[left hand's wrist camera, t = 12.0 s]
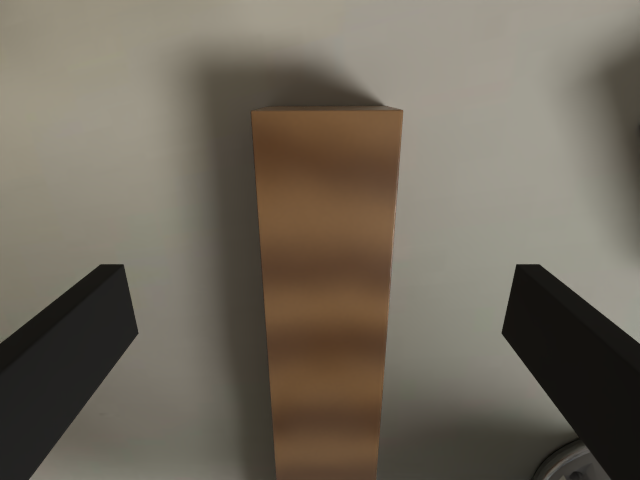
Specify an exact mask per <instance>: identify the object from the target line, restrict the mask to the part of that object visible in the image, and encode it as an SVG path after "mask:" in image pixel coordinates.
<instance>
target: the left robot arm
mask: <svg viewBox="0 0 640 480" xmlns="http://www.w3.org/2000/svg"><path fill="white" fill-rule="evenodd" d="M137 335H138V329H137V324H136V320H135V315H134V310H133V306H132V301H131V297H130V292H129V287H128V283H127V278H126V273H125V269H124V264H101V265H99V266H98V267H97V268H95V269H94V270H93V271H92V272H90V273H89V274H88V275H87V276H85V277H84V278H83V279H82V280H80V281H79V282H78V283H76V284H75V285H74V286H73V287H71V288H70V289H69V290H68V291H66V292H65V293H64V294H63V295H61V296H60V297H59V298H58V299H56V300H55V301H54V302H52V303H51V304H50V305H49V306H47V307H46V308H45V309H44V310H42V311H41V312H40V313H39V314H37V315H36V316H35V317H33V318H32V319H31V320H30V321H28V322H27V323H26V324H25V325H23V326H22V327H21V328H20V329H18V330H17V331H16V332H15V333H13V334H12V335H11V336H9V337H8V338H7V339H6V340H4V341H3V342H2V343H1V344H0V480H29V479H30V478H31V476H32V475H33V474H34V472H35V471H36V470H37V468H38V467H39V466H40V464H41V463H42V462H43V460H44V459H45V457H46V456H47V455H48V453H49V452H50V451H51V449H52V448H53V447H54V445H55V444H56V443H57V441H58V440H59V439H60V437H61V436H62V435H63V433H64V432H65V431H66V429H67V428H68V427H69V425H70V424H71V423H72V421H73V420H74V419H75V417H76V416H77V415H78V413H79V412H80V411H81V409H82V408H83V407H84V405H85V404H86V403H87V401H88V400H89V399H90V397H91V396H92V395H93V393H94V392H95V391H96V389H97V388H98V387H99V385H100V384H101V383H102V381H103V380H104V379H105V377H106V376H107V375H108V373H109V372H110V371H111V369H112V368H113V367H114V365H115V364H116V363H117V361H118V360H119V359H120V357H121V356H122V355H123V353H124V352H125V351H126V349H127V348H128V347H129V345H130V344H131V343H132V341H133V340H134V339H135V337H136V336H137ZM502 335H503V336H504V337H505V339H506V340H507V341H508V343H509V344H510V345H511V347H512V348H513V349H514V351H515V352H516V353H517V355H518V356H519V357H520V359H521V360H522V361H523V363H524V364H525V365H526V367H527V368H528V369H529V371H530V372H531V373H532V375H533V376H534V377H535V379H536V380H537V381H538V383H539V384H540V385H541V387H542V388H543V389H544V391H545V392H546V393H547V395H548V396H549V397H550V399H551V400H552V401H553V403H554V404H555V405H556V407H557V408H558V409H559V411H560V412H561V413H562V415H563V416H564V417H565V419H566V420H567V421H568V423H569V424H570V425H571V427H572V428H573V429H574V431H575V432H576V433H577V435H578V436H579V437H580V439H581V440H582V441H583V443H584V444H585V445H586V447H587V448H588V449H589V451H590V452H591V453H592V455H593V456H594V458H595V459H596V460H597V462H598V463H599V464H600V466H601V467H602V468H603V470H604V471H605V472H606V474H607V475H608V476H609V478H610V479H611V480H640V344H639V343H638V342H637V341H636V340H634V339H633V338H632V337H631V336H629V335H628V334H627V333H625V332H624V331H623V330H622V329H620V328H619V327H618V326H617V325H615V324H614V323H613V322H612V321H610V320H609V319H608V318H607V317H605V316H604V315H603V314H601V313H600V312H599V311H598V310H596V309H595V308H594V307H593V306H591V305H590V304H589V303H588V302H586V301H585V300H584V299H582V298H581V297H580V296H579V295H577V294H576V293H575V292H574V291H572V290H571V289H570V288H569V287H567V286H566V285H565V284H564V283H562V282H561V281H560V280H558V279H557V278H556V277H555V276H553V275H552V274H551V273H550V272H548V271H547V270H546V269H545V268H543V267H542V266H541V265H539V264H516V269H515V273H514V278H513V283H512V287H511V292H510V297H509V301H508V306H507V310H506V315H505V320H504V324H503V329H502Z"/></svg>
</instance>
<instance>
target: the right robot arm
mask: <svg viewBox="0 0 640 480" xmlns="http://www.w3.org/2000/svg"><path fill="white" fill-rule="evenodd" d="M533 480H611V479H610V478H609V476H608V475H607V474H606V472H605V471H604V470H603V468H602V467H601V466H600V464H599V463H598V462H597V460H596V459H595V458H594V456H593V455H592V453H591V452H590V451H589V449H588V448H587V447H586V445H585V444H584V443H583V441H582V440H581V439H580V440H577V441H575V442H572V443H570V444H568V445H566V446H564V447H562V448H561V449H559V450H557V451H556V452H555V453H553V454H552V455H551V456H550V457H548V458H547V459H546V460H545V461H544V462H543V463H542V465H541V466H540V467H539V468H538V470H537V471H536V473H535V475H534V478H533Z"/></svg>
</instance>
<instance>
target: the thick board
mask: <svg viewBox="0 0 640 480" xmlns="http://www.w3.org/2000/svg"><path fill="white" fill-rule="evenodd" d="M402 121H403V110H401V109H397V108H392V107H388V106H268V107H264V108H260V109H256V110H252V111H251V122H252V137H253V151H254V166H255V180H256V194H257V209H258V223H259V238H260V252H261V266H262V281H263V295H264V310H265V324H266V338H267V353H268V367H269V381H270V396H271V410H272V425H273V439H274V453H275V468H276V480H376V475H377V461H378V447H379V434H380V420H381V407H382V393H383V379H384V366H385V352H386V339H387V325H388V311H389V298H390V284H391V271H392V257H393V243H394V230H395V216H396V203H397V189H398V175H399V162H400V148H401V135H402Z"/></svg>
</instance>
